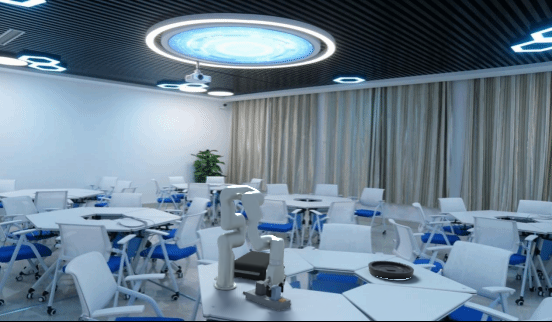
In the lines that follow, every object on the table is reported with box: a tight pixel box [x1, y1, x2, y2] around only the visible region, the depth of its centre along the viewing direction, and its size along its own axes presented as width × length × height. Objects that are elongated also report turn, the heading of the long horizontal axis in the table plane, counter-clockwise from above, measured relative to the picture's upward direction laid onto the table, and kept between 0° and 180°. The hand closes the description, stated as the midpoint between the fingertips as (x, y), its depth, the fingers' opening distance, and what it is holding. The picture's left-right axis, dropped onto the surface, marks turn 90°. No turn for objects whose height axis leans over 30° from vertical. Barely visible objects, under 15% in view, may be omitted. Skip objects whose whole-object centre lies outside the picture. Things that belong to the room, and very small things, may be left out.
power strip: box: [242, 280, 291, 312], centre depth 209 cm, size 30×9×10 cm, turn 50°
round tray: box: [368, 260, 415, 279], centre depth 267 cm, size 30×6×30 cm
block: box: [269, 285, 282, 301], centre depth 203 cm, size 4×4×8 cm
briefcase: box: [234, 250, 286, 282], centre depth 258 cm, size 36×32×10 cm
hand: (274, 294), depth 204 cm, fingers open, 9 cm apart
